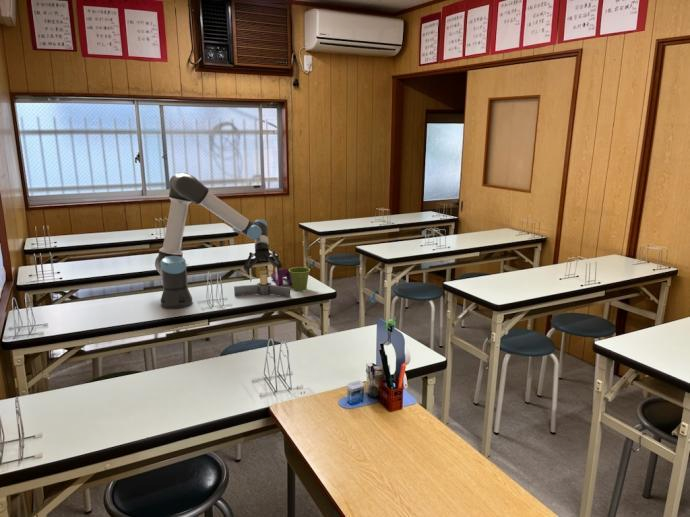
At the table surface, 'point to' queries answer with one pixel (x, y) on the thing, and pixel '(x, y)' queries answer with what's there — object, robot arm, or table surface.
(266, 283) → the hinge pin
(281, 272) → the purple irregular piece
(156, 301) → the table surface
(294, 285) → the plant pot
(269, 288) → the steel hinge
